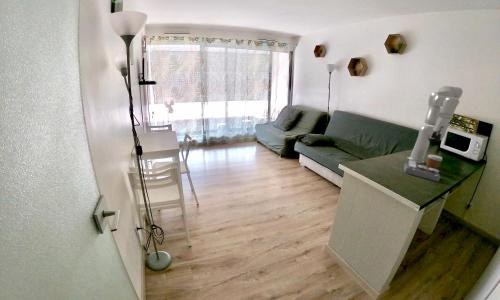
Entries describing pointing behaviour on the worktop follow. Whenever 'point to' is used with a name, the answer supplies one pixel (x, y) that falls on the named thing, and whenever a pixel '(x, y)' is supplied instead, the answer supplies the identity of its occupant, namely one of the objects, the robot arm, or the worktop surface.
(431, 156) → the disposable coffee cup
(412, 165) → the block
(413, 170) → the rocker switch panel
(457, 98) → the robot arm
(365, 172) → the worktop surface
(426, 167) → the block
